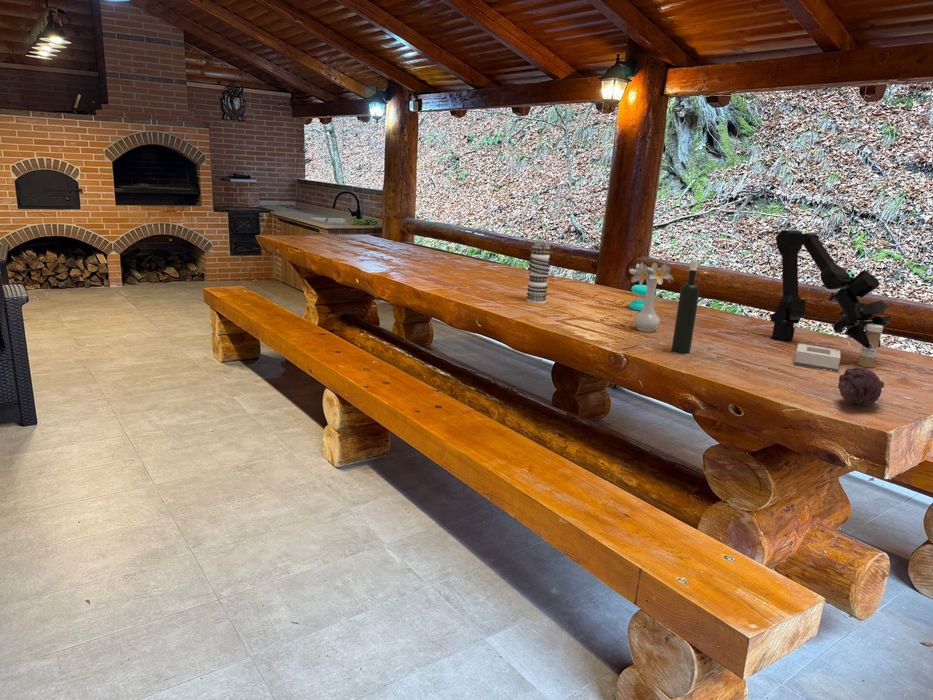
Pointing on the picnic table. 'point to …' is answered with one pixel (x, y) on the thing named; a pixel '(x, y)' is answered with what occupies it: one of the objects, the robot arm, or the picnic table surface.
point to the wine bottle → (686, 313)
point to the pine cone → (860, 386)
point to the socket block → (817, 357)
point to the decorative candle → (538, 273)
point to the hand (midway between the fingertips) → (874, 347)
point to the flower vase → (649, 294)
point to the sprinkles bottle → (870, 353)
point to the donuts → (639, 291)
